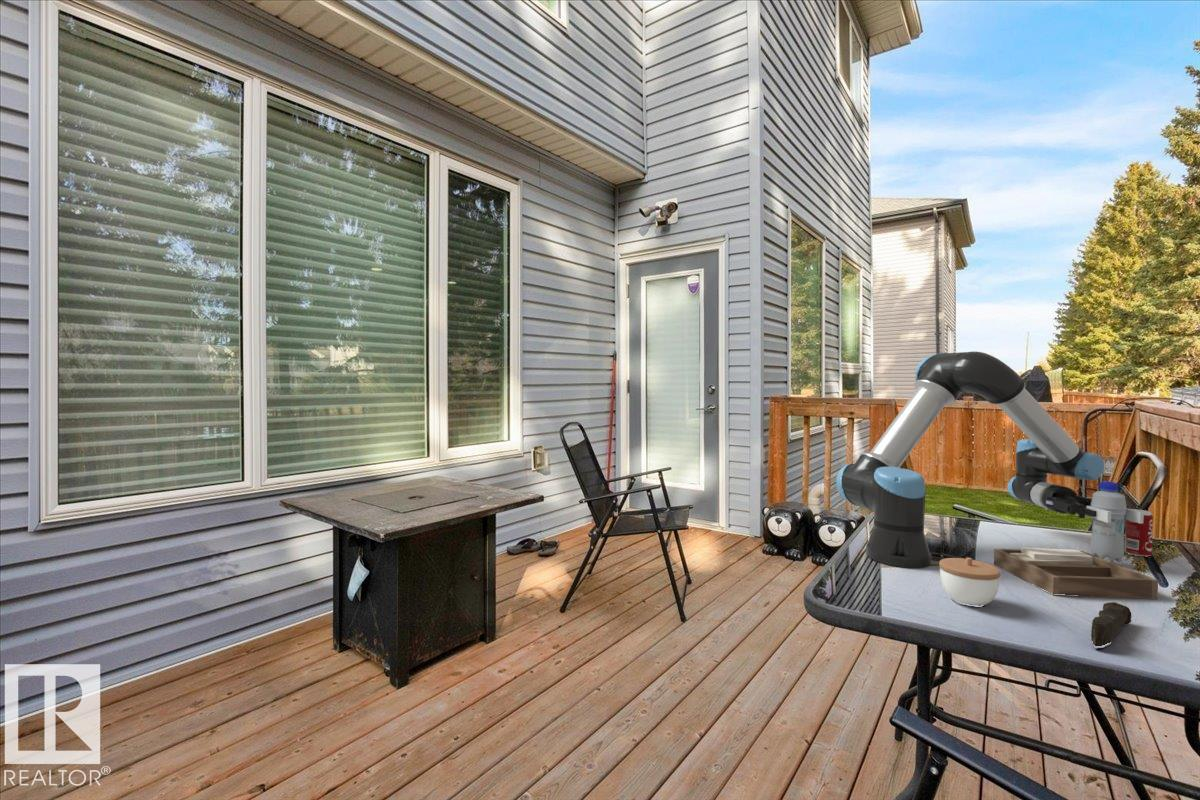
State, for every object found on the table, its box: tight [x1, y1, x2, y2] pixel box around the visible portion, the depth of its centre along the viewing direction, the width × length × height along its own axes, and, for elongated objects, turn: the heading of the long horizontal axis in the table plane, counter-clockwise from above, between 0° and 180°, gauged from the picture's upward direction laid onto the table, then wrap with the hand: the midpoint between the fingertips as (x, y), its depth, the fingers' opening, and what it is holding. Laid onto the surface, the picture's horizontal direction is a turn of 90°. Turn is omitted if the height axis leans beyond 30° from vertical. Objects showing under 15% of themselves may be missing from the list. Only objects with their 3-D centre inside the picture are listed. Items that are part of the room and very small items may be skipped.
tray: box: [993, 548, 1159, 599], centre depth 127 cm, size 20×21×4 cm
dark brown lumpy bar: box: [1090, 601, 1132, 646], centre depth 100 cm, size 19×4×5 cm, turn 126°
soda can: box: [1124, 508, 1154, 557], centre depth 146 cm, size 5×5×12 cm
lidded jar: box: [938, 557, 1001, 606], centre depth 115 cm, size 11×11×9 cm
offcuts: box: [1010, 546, 1095, 566], centre depth 132 cm, size 7×17×4 cm, turn 85°
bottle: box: [1089, 481, 1127, 563], centre depth 138 cm, size 7×7×20 cm
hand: (1125, 517), depth 133 cm, fingers closed on bottle, 7 cm apart
